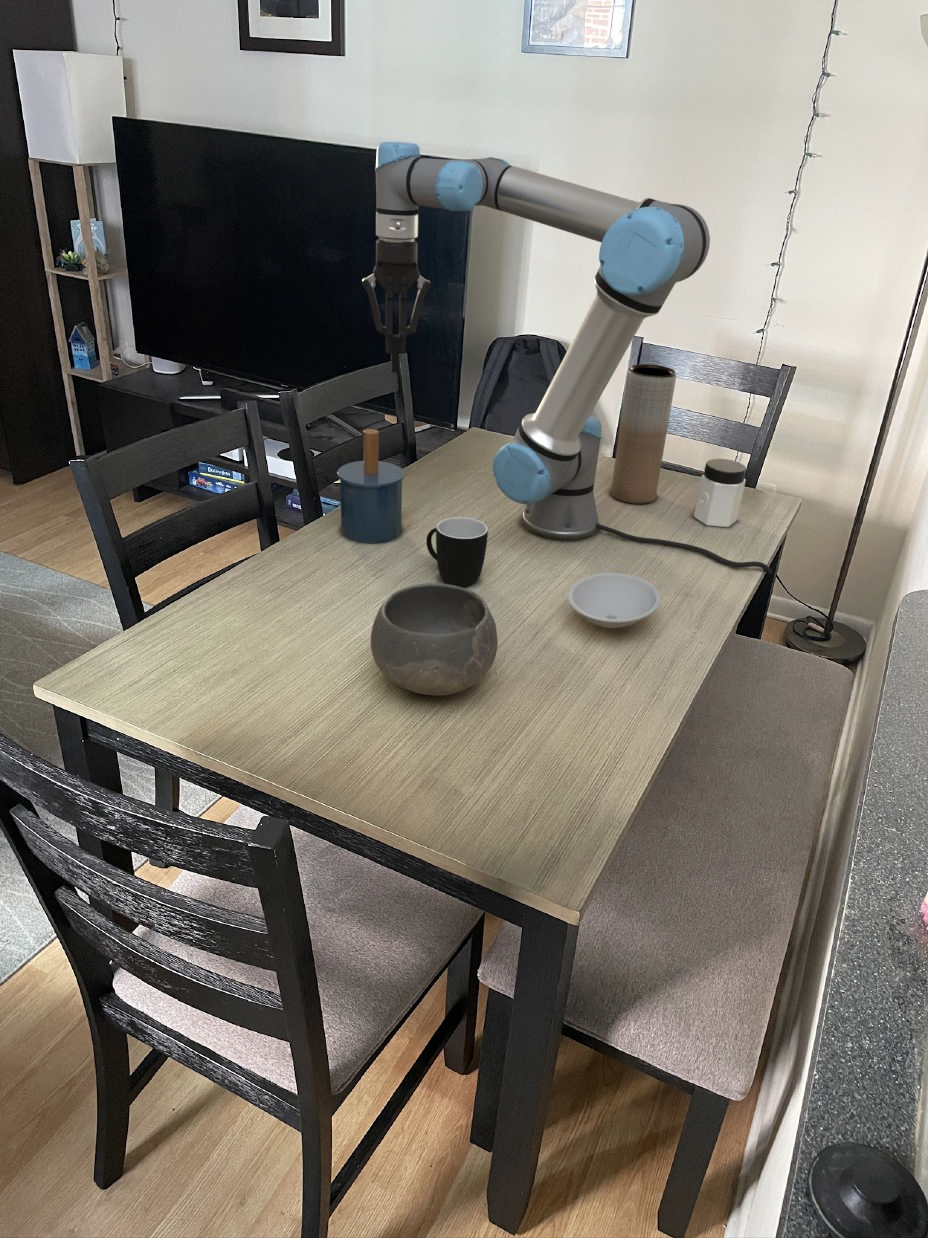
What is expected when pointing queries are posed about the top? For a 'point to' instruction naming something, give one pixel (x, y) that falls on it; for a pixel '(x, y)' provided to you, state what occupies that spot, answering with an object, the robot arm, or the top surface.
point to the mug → (459, 549)
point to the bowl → (434, 638)
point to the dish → (614, 599)
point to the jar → (720, 492)
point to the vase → (642, 432)
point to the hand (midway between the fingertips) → (395, 370)
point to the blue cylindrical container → (371, 512)
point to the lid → (371, 466)
